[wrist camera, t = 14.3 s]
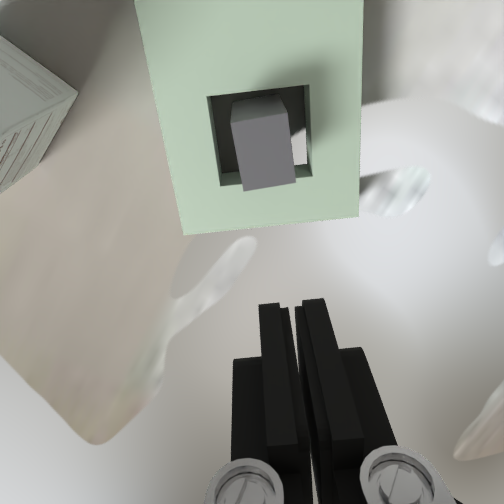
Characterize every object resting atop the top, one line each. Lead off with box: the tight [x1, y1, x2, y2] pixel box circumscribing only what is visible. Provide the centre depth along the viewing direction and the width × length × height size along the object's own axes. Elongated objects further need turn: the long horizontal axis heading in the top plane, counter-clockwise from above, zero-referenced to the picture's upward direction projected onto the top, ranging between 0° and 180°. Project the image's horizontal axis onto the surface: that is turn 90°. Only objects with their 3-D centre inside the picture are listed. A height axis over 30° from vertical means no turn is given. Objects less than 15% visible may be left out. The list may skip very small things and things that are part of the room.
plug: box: [230, 94, 296, 192], centre depth 29 cm, size 4×4×7 cm
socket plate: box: [134, 0, 364, 235], centre depth 30 cm, size 20×14×3 cm
